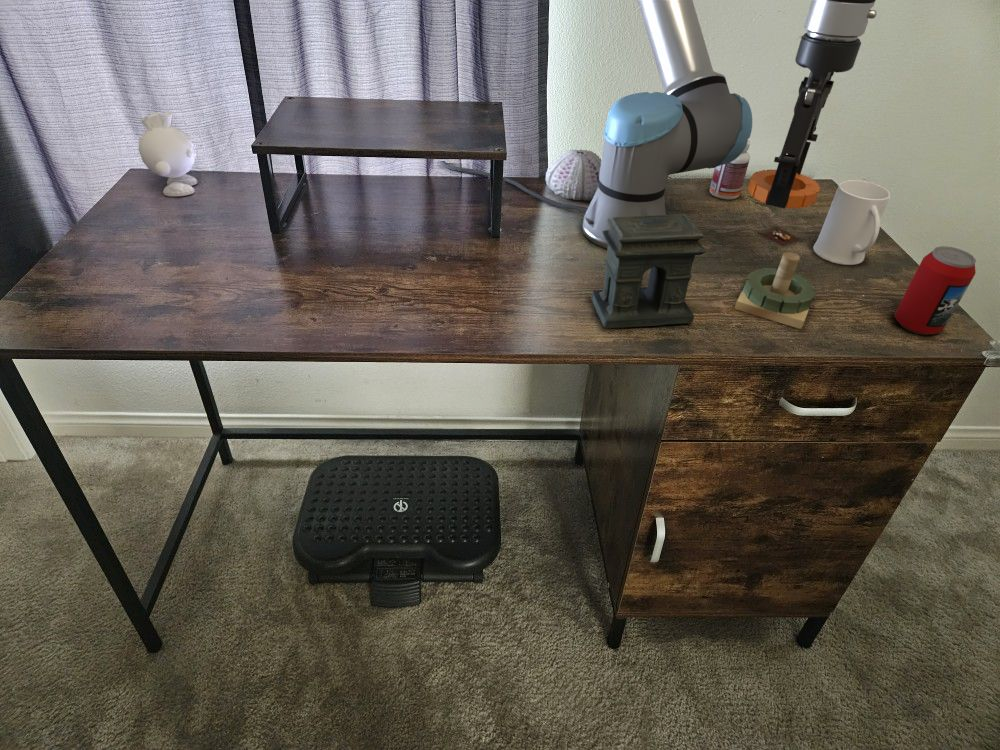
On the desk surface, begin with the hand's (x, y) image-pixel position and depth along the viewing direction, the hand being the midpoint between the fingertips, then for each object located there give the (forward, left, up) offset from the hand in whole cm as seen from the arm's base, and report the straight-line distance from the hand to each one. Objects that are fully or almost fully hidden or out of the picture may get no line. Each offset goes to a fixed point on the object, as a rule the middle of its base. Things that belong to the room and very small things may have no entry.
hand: (782, 193), depth 101 cm
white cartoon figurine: (-104, -32, -14) cm, 110 cm away
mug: (+12, +13, -14) cm, 23 cm away
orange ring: (0, 0, 0) cm, 0 cm away
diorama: (+1, +15, -14) cm, 21 cm away
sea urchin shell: (-39, +12, -14) cm, 43 cm away
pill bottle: (-13, +28, -14) cm, 34 cm away
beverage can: (+25, -3, -14) cm, 29 cm away
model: (-12, -23, -14) cm, 29 cm away
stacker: (+5, -9, -14) cm, 17 cm away
